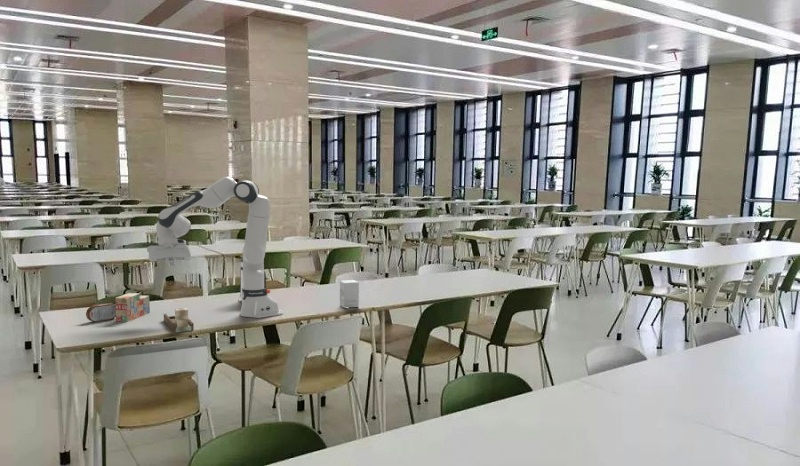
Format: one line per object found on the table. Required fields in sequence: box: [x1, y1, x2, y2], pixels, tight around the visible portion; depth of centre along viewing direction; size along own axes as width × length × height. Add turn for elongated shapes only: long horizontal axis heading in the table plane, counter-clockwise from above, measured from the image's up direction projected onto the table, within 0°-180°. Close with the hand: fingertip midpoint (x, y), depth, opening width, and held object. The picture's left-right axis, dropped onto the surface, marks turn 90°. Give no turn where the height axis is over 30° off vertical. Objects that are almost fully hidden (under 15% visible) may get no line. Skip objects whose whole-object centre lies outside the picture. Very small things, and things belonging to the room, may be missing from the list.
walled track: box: [163, 313, 195, 333], centre depth 294 cm, size 9×26×4 cm, turn 31°
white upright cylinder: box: [237, 256, 267, 302], centre depth 352 cm, size 17×16×30 cm
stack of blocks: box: [114, 292, 151, 323], centre depth 309 cm, size 21×6×12 cm, turn 173°
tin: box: [85, 302, 116, 323], centre depth 300 cm, size 15×3×8 cm, turn 141°
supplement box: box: [339, 279, 360, 309], centre depth 346 cm, size 9×9×15 cm
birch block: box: [174, 307, 189, 327], centre depth 286 cm, size 5×5×8 cm
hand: (171, 266), depth 304 cm, fingers closed
